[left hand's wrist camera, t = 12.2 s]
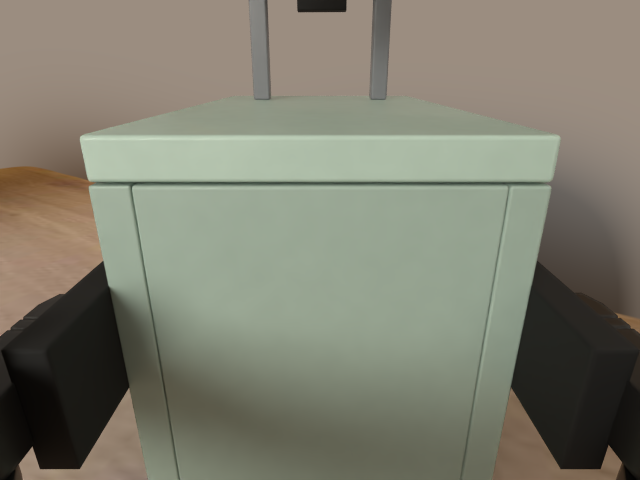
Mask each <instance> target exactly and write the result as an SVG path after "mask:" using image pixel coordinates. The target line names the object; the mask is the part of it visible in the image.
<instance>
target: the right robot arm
mask: <svg viewBox="0 0 640 480" xmlns="http://www.w3.org/2000/svg"><path fill="white" fill-rule="evenodd" d="M297 8H298V12H346V0H297Z"/></svg>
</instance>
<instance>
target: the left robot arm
mask: <svg viewBox="0 0 640 480" xmlns="http://www.w3.org/2000/svg"><path fill="white" fill-rule="evenodd" d="M128 388H129V382H128V377H127V372H126V367H125V362H124V357H123V352H122V347H121V342H120V337H119V333H118V328H117V323H116V318H115V313H114V308H113V303H112V298H111V293H110V288H109V285H108V281H107V276H106V271H105V266H104V261H103V262H101V263H100V264H99V265H98V266H97V267H96V268H95V269H93V270H92V271H91V272H90V273H89V274H88V275H86V276H85V277H84V278H83V279H82V280H81V281H80V282H78V283H77V284H76V285H75V286H74V287H73V288H72V289H70V290H69V291H68V292H67V293H66V294H59V295H57V296H55V297H53V298H51V299H49V300H47V301H45V302H43V303H41V304H39V305H38V306H36V307H35V308H34V309H33V310H32V311H30V312H29V313H28V314H27V315H26V316H24V317H23V320H19V321H18V322H17V323H16V324H15V325H13V326H12V327H11V330H7V331H6V332H5V333H4V334H2V335H1V336H0V480H23V479H22V473H21V470H20V467H19V465H18V464H19V463H20V462H21V460H22V459H23V458H24V457H25V455H26V454H27V453H28V451H29V450H30V449H31V447H32V446H33V449H34V452H35V455H36V458H37V461H38V464H39V467H40V469H80V468H81V466H82V464H83V463H84V461H85V459H86V458H87V456H88V454H89V453H90V451H91V449H92V448H93V446H94V445H95V443H96V441H97V440H98V438H99V436H100V435H101V433H102V431H103V430H104V428H105V426H106V425H107V423H108V421H109V420H110V418H111V416H112V415H113V413H114V411H115V410H116V408H117V407H118V405H119V403H120V402H121V400H122V398H123V397H124V395H125V393H126V392H127V390H128ZM511 388H512V389H513V391H514V393H515V394H516V396H517V398H518V399H519V401H520V402H521V404H522V406H523V407H524V409H525V411H526V412H527V414H528V416H529V417H530V419H531V421H532V422H533V424H534V426H535V427H536V429H537V431H538V432H539V434H540V435H541V437H542V439H543V440H544V442H545V444H546V445H547V447H548V449H549V450H550V452H551V454H552V455H553V457H554V459H555V460H556V462H557V464H558V465H559V467H560V468H561V469H601V466H602V463H603V460H604V457H605V454H606V451H607V448H608V445H609V446H610V447H611V448H612V450H613V451H614V452H615V453H616V455H617V456H618V457H619V459H620V460H621V461H622V465H621V467H620V470H619V473H618V476H617V479H616V480H640V334H639V333H638V332H637V331H636V330H634V329H631V328H630V325H628V324H627V323H626V322H625V321H623V320H622V319H621V318H618V316H617V315H616V314H615V313H614V312H613V311H611V310H610V309H609V308H608V307H606V306H605V305H604V304H603V303H601V302H599V301H597V300H595V299H593V298H591V297H589V296H587V295H585V294H583V293H574V292H572V291H571V290H570V289H569V288H568V287H567V286H565V285H564V284H563V283H562V282H561V281H560V280H559V279H557V278H556V277H555V276H554V275H553V274H552V273H551V272H549V271H548V270H547V269H546V268H545V267H544V266H543V265H541V264H540V263H539V262H538V261H537V262H536V267H535V272H534V277H533V282H532V286H531V290H530V295H529V300H528V305H527V310H526V315H525V320H524V325H523V329H522V334H521V339H520V344H519V349H518V354H517V359H516V364H515V369H514V373H513V378H512V383H511Z"/></svg>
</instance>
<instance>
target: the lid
mask: <svg viewBox="0 0 640 480" xmlns="http://www.w3.org/2000/svg"><path fill="white" fill-rule="evenodd" d="M391 3H392V0H373V21H372V45H371V70H370V94H369V96H271V83H270V58H269V32H268V7H267V0H249V13H250V32H251V50H252V69H253V88H254V96H233V97H229V98H225V99H221V100H217V101H213V102H209V103H205V104H201V105H197V106H194V107H190V108H186V109H182V110H178V111H174V112H170V113H166V114H162V115H158V116H155V117H151V118H147V119H143V120H139V121H135V122H131V123H127V124H123V125H119V126H115V127H111V128H108V129H104V130H100V131H96V132H92V133H88V134H84V135H82V136H81V137H80V143H81V148H82V153H83V158H84V163H85V168H86V173H87V178H88V180H89V181H91V182H550V181H552V179H553V176H554V172H555V167H556V161H557V157H558V152H559V147H560V142H561V138H560V136H558V135H556V134H552V133H548V132H544V131H540V130H536V129H532V128H529V127H525V126H520V125H517V124H513V123H509V122H505V121H501V120H497V119H493V118H490V117H486V116H482V115H478V114H474V113H470V112H466V111H462V110H458V109H454V108H451V107H447V106H443V105H439V104H435V103H431V102H427V101H423V100H419V99H415V98H411V97H408V96H386V95H387V76H388V58H389V39H390V21H391Z"/></svg>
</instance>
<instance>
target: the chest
mask: <svg viewBox="0 0 640 480" xmlns="http://www.w3.org/2000/svg"><path fill="white" fill-rule="evenodd" d="M89 192H90V197H91V202H92V207H93V212H94V217H95V222H96V227H97V232H98V236H99V241H100V246H101V251H102V256H103V261H104V266H105V271H106V276H107V281H108V285H109V288H110V293H111V298H112V303H113V308H114V313H115V318H116V323H117V328H118V333H119V337H120V342H121V347H122V352H123V357H124V362H125V367H126V372H127V377H128V382H129V388H130V393H131V398H132V403H133V408H134V413H135V418H136V423H137V428H138V432H139V437H140V442H141V447H142V452H143V457H144V462H145V467H146V472H147V477H148V480H492V477H493V472H494V467H495V462H496V457H497V453H498V448H499V443H500V438H501V433H502V428H503V423H504V418H505V414H506V409H507V404H508V399H509V394H510V389H511V383H512V378H513V373H514V369H515V364H516V359H517V354H518V349H519V344H520V339H521V334H522V329H523V325H524V320H525V315H526V310H527V305H528V300H529V295H530V290H531V286H532V282H533V277H534V272H535V267H536V262H537V257H538V252H539V248H540V243H541V238H542V233H543V228H544V223H545V219H546V214H547V209H548V204H549V199H550V194H551V186H549V185H547V184H545V183H543V182H97V183H95V184H93V185H91V186H89Z"/></svg>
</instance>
